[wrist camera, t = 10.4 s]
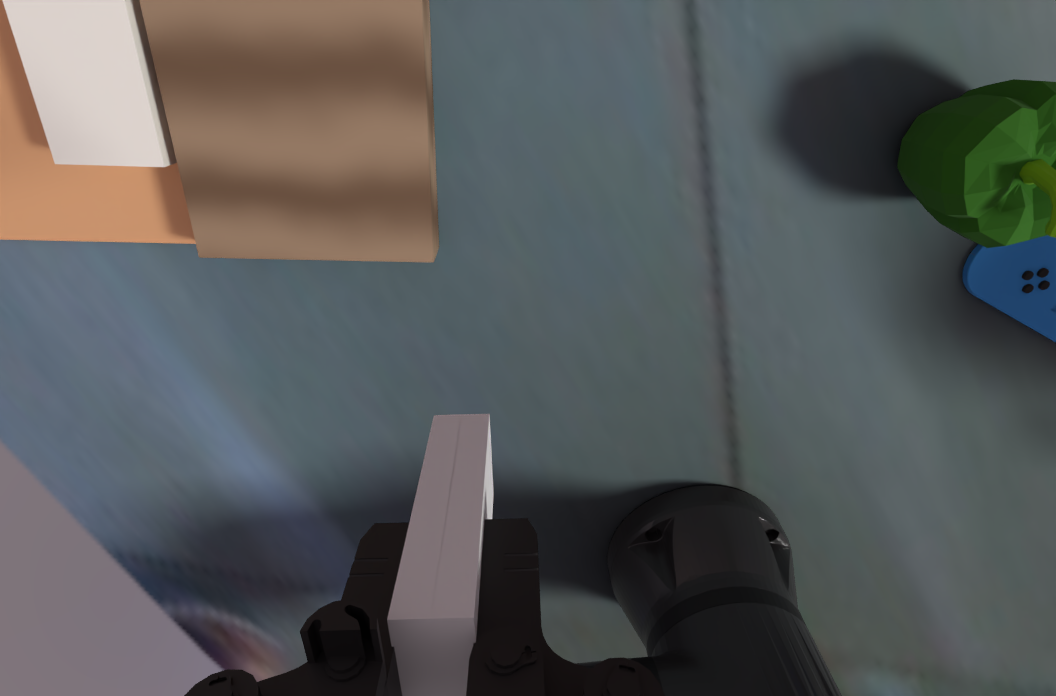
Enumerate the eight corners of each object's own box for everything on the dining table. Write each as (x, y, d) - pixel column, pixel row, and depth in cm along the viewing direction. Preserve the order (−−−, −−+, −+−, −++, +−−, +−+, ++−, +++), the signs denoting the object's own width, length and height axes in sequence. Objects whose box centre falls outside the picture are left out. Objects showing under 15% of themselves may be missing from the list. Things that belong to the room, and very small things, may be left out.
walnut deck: (439, 247, 39) (433, 262, 36) (220, 242, 39) (199, 257, 36) (423, -141, 30) (414, -158, 27) (136, -153, 30) (99, -172, 27)
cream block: (186, 159, 36) (164, 167, 34) (83, 156, 36) (54, 164, 34) (141, -39, 31) (113, -45, 29) (23, -44, 31) (-14, -50, 29)
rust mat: (212, 242, 39) (210, 244, 38) (-43, 236, 38) (-48, 238, 38) (126, -153, 29) (121, -156, 29) (-213, -167, 29) (-222, -170, 29)
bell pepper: (911, 59, 35) (1048, 68, 26) (1040, 87, 35) (1215, 105, 27) (850, 203, 38) (950, 253, 30) (967, 225, 39) (1099, 281, 30)
